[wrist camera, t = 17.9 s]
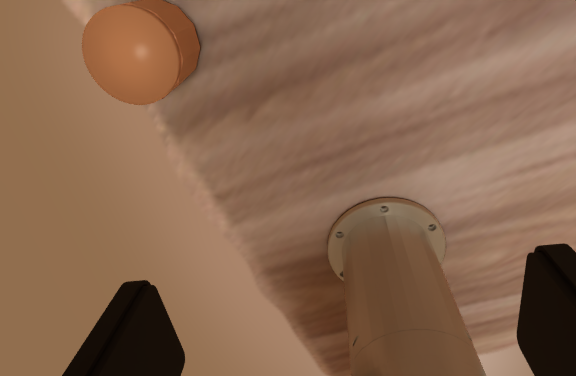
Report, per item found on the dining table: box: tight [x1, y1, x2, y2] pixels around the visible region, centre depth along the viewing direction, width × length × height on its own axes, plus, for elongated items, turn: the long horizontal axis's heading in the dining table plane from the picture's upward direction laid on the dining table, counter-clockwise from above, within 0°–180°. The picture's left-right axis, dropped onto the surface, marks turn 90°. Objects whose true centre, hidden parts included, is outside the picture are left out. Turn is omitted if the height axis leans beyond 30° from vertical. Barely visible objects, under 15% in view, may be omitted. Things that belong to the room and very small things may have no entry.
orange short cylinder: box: [82, 0, 200, 105], centre depth 31 cm, size 7×7×6 cm
